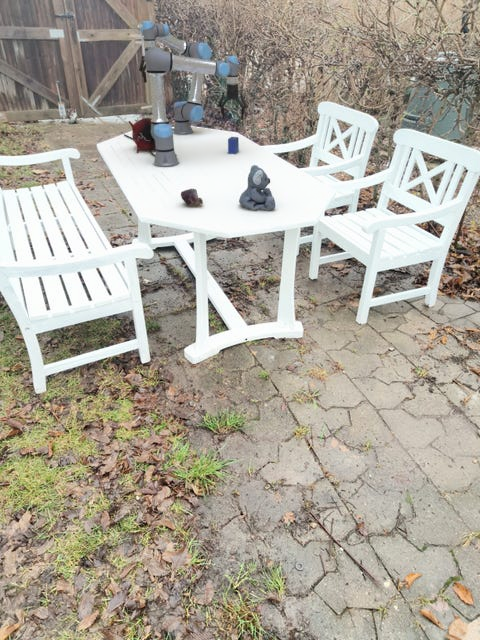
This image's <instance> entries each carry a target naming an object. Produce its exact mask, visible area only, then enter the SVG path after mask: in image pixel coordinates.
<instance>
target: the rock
mask: <svg viewBox="0 0 480 640" xmlns="http://www.w3.org/2000/svg"><path fill="white" fill-rule="evenodd" d="M180 197H181V200H182V201H183V202H184V203H185V205H187V206H189V207H191V206H192V207H193V206H201V205H203V204H204V202H203V199H202V197H199V195H198V190H197V189H196V188H188V189H185V190H181V192H180Z"/></svg>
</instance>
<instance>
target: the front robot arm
mask: <svg viewBox="0 0 480 640" xmlns="http://www.w3.org/2000/svg"><path fill="white" fill-rule="evenodd" d="M143 56H144V59H145V62H144V64H145V63H146V70H145V72H146V75H148V76H149V87H150V101H151V111H152V112H151V114H152V118H150V119H151V135H152V137H153V138H154V140H155V145H156V149H155V154H154V153H153V152H152V150H148V152H149V153H150V154H151V155H152V156H154V165H155V166H157V167H163V168H164V167H165V168H167V167H168V168H169V167H174V166H177V165H178V164H179V159H178V157H177V156H178V155H177V153H176V151H175V143H174V130H172V129H173V127H172V125H171V124H170V120H169V119H168V118H167V108H166V95H165V93H166V92H165V75H166V73H167V72H173V71H179V72H180V71H181V72H187V73H188V72H189V73H193V72H195V73H202V74H204V75H210V76H211V75H212V76H216V77H217V76H218V77H220V78H221V77H222V78H226V91H222V93H221V97H220V99H219V102H218V104H217V107H218V108H220V114H221V118H222V119H223V120H224V119H225V116H226V113H225V111H226V109H225V106H226V104H227V103H228V101H229V100H230V101H231V100H233V101H236V102H237V103H238V105H239V106H240V108H241V109H240V114H241V115H240V119H241V120H240V121H243V120H244V119H245V117H244V115H245V114H246V109H247V108H248V107H249V106H248V104H247V101H246V99H245V96H244V92H243V91H242V92H240V91H239V57H237V56H235V55H234V56H233V55H231V56H226V59H225V60H221V59H220V60H211V59H210V60H204V59H197V58H190V57H184V56H183V55H175V54H174V53H173V52H170V51H165V50H163V49H161V48H159V47H157V46H156V47H151V48H149V49H148V50H147V51H146V53H145V52H144V55H143ZM163 76H164V77H163ZM226 96H227V97H226ZM225 97H226V98H225ZM239 97H240V98H239ZM123 136H125V137H126V138H128V139H131V140H133V137H131V136H129V135H128V134H125V133H124V134H123Z"/></svg>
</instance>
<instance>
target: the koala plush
mask: <svg viewBox="0 0 480 640" xmlns="http://www.w3.org/2000/svg"><path fill="white" fill-rule="evenodd" d="M270 183H271V178H269V176H268V175H267V173H266V172H265V170H264V169H263V168H261V167H259V165H257V164H253V165H250V170H249V173H248V176H247V188H246V189H245V190H244V191H243V192H242V193H241V194H240V197H239V199H238V203H239V204H240V206H241V207H242V208H246V209H247V210H252V211H255V210H261V211H272V210H274V209H275V208H276V200H275V198H274V196H273V194H272V191H271V188H270V187H268V186H269V185H270Z"/></svg>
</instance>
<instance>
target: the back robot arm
mask: <svg viewBox="0 0 480 640" xmlns="http://www.w3.org/2000/svg"><path fill="white" fill-rule="evenodd" d="M140 33H141V35H142V36H143V43H144V54H145V53H146V51H147V50H148V49H149V48H151V47H157V45H156V42H158V43H160V44H162V45H164V46H167V47H168V48H170V49H172V50H174V51H176V52H177V54H179V55H180V56H184V57H190V58H197V59H204V60H211V58H212V49H211V47H210V45H209V44H208V43H206V42H195V41H186V40H184V39H179V38H177V37H175V36H173V35H171V34H170V28H169V25H168V24H166V23H154V21H153V20H143V21H142V25H141V26H140ZM144 56H145V55H142V56H141V61H140V65H139V67H138V68H139V70H138V71H139V72H141V76H142V78H143V83H144V84H146V83H148V81H147V80H148V79H147V71H146V63H145V59H144ZM204 75H205V74H202V73H195V72H191V83H190V90H189V98H188V100H187V101H186V100H183V101H177V102H174V104H173V111H174V112H173V114H174V128H172V130H173V134H175V135H190V134H192V133H193V127H192V125H191V122H199V121H201V120H202V119H203V117H204V115H205V110H204V107H203V103H202V101H201V97H202V91H203V82H204ZM163 77H164V78H165V75H164V76H163Z"/></svg>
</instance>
